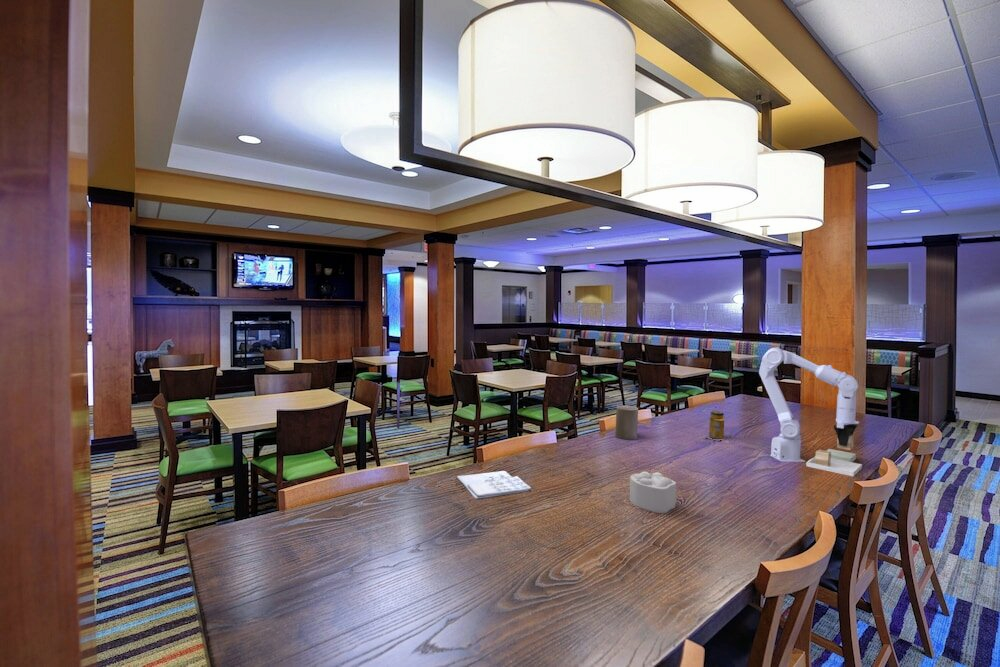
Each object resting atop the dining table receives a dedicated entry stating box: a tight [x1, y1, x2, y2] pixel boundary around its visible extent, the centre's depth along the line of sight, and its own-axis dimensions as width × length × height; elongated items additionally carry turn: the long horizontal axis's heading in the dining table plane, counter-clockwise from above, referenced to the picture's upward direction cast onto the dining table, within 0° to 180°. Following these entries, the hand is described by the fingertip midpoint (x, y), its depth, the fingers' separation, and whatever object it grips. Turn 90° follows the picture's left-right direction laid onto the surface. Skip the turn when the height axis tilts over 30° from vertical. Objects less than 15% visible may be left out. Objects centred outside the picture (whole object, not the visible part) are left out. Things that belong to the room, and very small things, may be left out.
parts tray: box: [805, 456, 863, 478], centre depth 176 cm, size 14×13×2 cm
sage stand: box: [825, 448, 857, 463], centre depth 186 cm, size 9×9×2 cm
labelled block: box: [836, 434, 855, 451], centre depth 176 cm, size 4×4×5 cm
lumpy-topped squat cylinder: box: [629, 471, 677, 514], centre depth 143 cm, size 10×13×9 cm
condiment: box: [703, 410, 725, 439], centre depth 216 cm, size 7×8×12 cm
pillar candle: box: [615, 405, 639, 441], centre depth 217 cm, size 10×10×15 cm
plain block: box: [814, 449, 831, 467], centre depth 178 cm, size 4×4×5 cm
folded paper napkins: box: [456, 470, 532, 500], centre depth 158 cm, size 19×20×2 cm
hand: (844, 444), depth 176 cm, fingers closed on labelled block, 4 cm apart
